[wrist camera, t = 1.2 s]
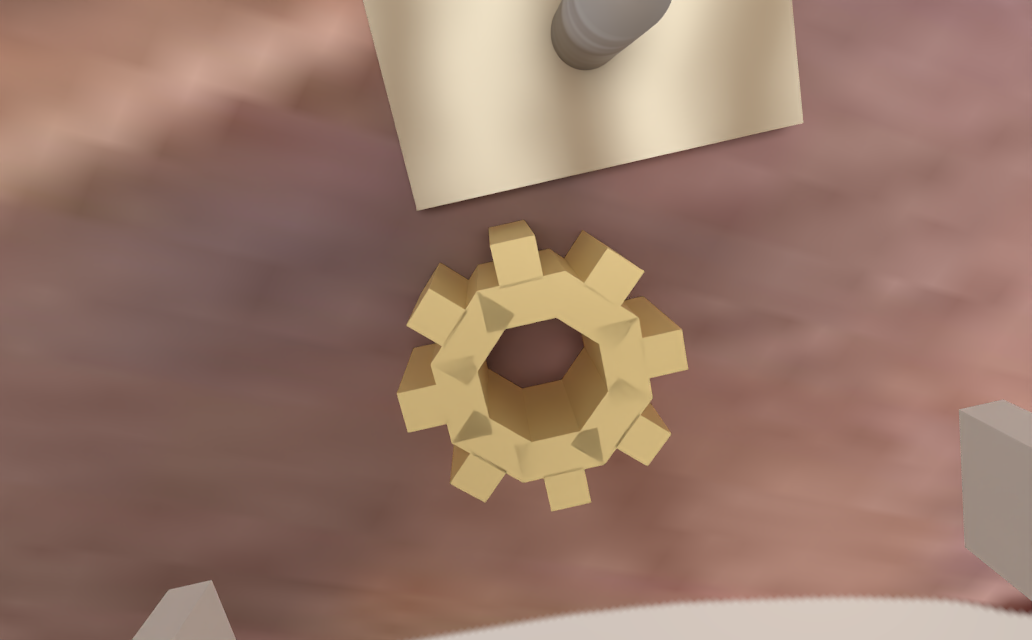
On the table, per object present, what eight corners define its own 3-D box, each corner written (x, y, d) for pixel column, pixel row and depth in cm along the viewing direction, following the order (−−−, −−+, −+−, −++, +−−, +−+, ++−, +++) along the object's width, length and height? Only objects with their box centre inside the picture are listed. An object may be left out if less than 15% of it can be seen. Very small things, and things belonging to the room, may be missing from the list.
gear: (446, 467, 26) (438, 537, 21) (386, 250, 24) (362, 274, 19) (663, 418, 26) (704, 477, 21) (626, 196, 24) (662, 206, 19)
